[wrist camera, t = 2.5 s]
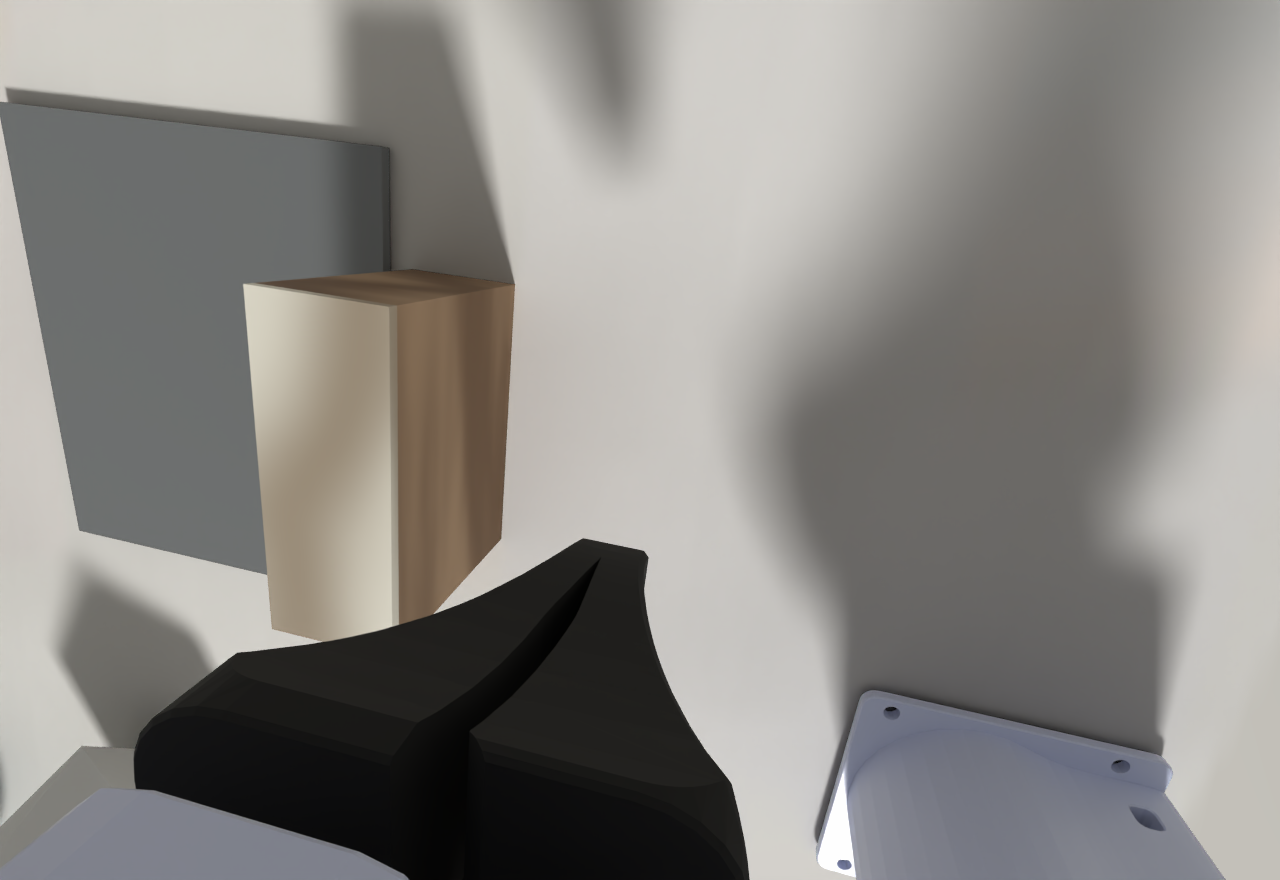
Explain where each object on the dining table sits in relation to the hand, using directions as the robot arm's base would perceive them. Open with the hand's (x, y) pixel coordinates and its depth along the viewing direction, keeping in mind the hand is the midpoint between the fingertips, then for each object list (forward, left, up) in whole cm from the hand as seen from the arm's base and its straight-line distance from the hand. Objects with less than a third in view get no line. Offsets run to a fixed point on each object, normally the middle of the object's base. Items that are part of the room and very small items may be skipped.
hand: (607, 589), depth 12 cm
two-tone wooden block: (+7, 0, -9) cm, 11 cm away
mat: (+17, 0, -9) cm, 19 cm away
